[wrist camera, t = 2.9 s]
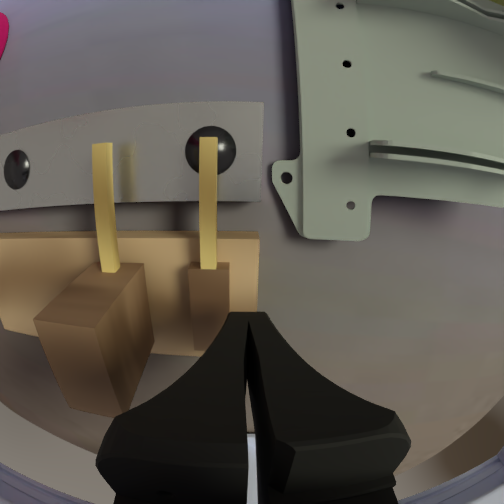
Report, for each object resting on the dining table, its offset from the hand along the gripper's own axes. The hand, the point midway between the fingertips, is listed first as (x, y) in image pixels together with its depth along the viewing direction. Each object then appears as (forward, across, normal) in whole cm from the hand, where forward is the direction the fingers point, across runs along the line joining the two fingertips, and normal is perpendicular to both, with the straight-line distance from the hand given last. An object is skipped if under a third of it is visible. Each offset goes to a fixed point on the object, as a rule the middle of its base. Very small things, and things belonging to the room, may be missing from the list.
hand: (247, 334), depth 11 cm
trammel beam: (+4, +7, -2) cm, 9 cm away
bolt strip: (+4, +8, -6) cm, 10 cm away
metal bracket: (+4, -8, -11) cm, 14 cm away
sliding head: (+2, +5, -2) cm, 6 cm away
